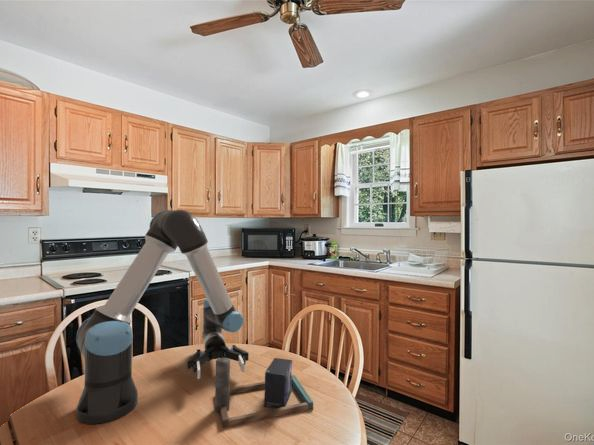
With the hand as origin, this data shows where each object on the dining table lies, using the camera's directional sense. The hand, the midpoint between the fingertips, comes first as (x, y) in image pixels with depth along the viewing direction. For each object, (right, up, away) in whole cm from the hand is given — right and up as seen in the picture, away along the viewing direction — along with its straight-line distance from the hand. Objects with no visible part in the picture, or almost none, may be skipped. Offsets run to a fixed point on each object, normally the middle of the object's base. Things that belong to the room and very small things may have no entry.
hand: (221, 371), depth 96 cm
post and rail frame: (+13, -7, -4) cm, 15 cm away
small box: (+18, -8, -2) cm, 20 cm away
